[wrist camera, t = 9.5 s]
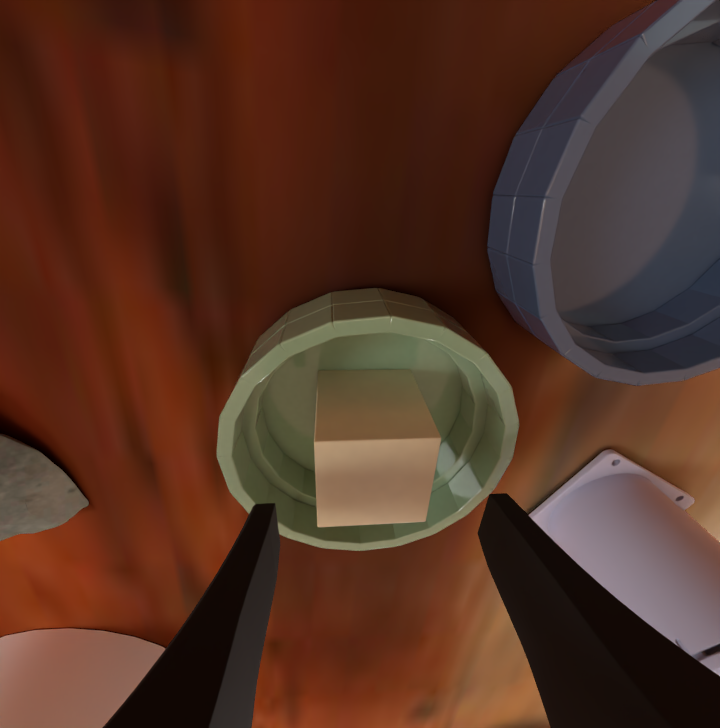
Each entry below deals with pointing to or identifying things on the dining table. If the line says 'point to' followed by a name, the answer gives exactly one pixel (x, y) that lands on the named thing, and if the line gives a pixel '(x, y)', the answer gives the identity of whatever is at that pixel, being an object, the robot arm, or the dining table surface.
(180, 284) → the dining table surface
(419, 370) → the sage bowl
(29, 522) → the stone
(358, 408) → the block
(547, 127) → the slate bowl
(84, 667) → the cylinder
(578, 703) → the robot arm
